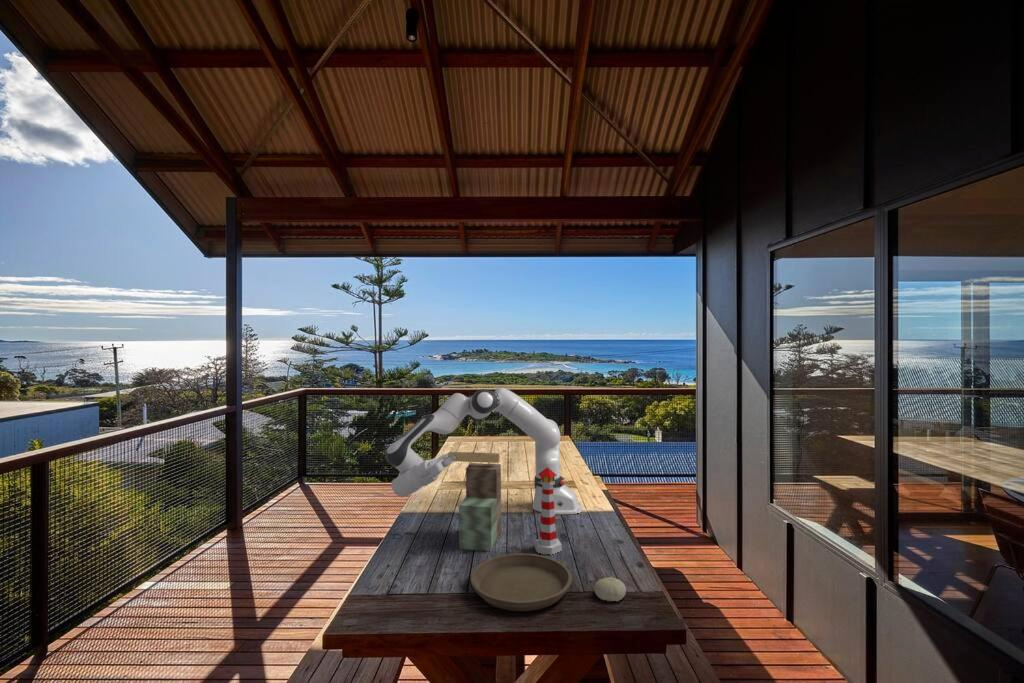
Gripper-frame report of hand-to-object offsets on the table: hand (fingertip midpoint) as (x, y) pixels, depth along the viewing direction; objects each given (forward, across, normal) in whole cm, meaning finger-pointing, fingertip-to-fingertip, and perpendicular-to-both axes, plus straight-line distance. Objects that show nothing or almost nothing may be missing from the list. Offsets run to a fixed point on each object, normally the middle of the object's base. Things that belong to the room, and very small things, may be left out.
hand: (457, 455), depth 202 cm
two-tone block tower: (-6, -5, +32) cm, 33 cm away
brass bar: (+5, 0, +5) cm, 7 cm away
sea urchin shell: (+35, -39, +56) cm, 77 cm away
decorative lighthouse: (+16, -9, +45) cm, 49 cm away
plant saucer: (+12, -39, +43) cm, 59 cm away
